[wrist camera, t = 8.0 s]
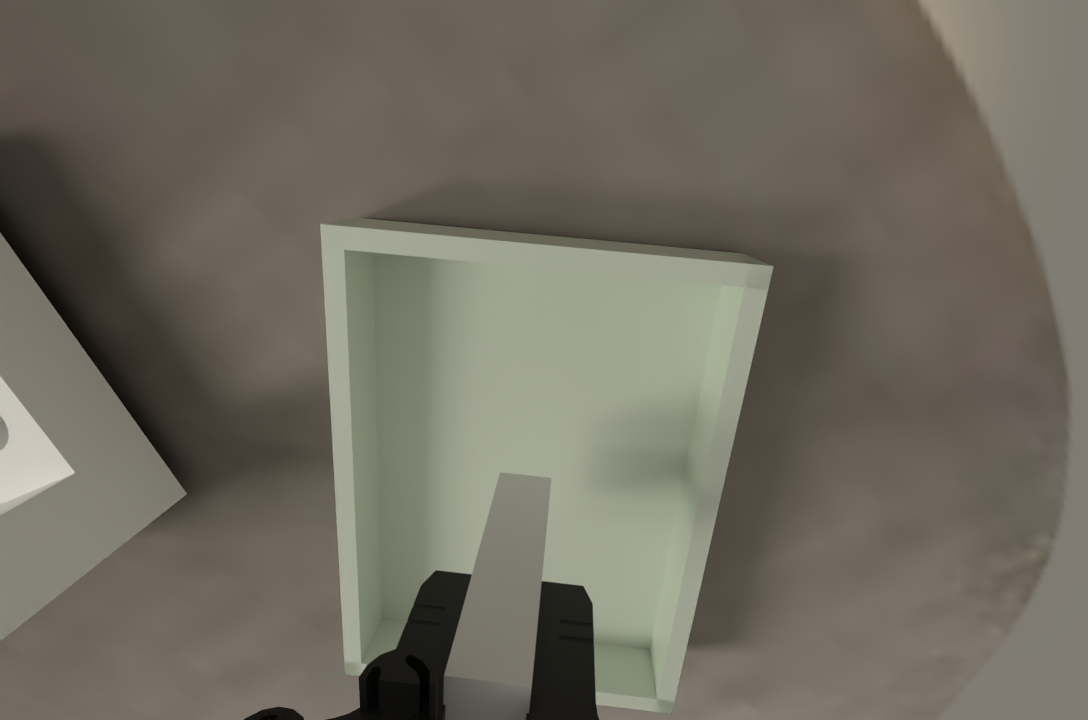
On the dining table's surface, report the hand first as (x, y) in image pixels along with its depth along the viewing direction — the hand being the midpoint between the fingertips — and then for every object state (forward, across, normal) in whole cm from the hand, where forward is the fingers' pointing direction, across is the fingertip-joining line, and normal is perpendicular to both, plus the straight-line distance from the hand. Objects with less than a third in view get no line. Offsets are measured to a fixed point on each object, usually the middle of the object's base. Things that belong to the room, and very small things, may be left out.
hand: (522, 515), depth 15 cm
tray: (+3, 0, 0) cm, 3 cm away
